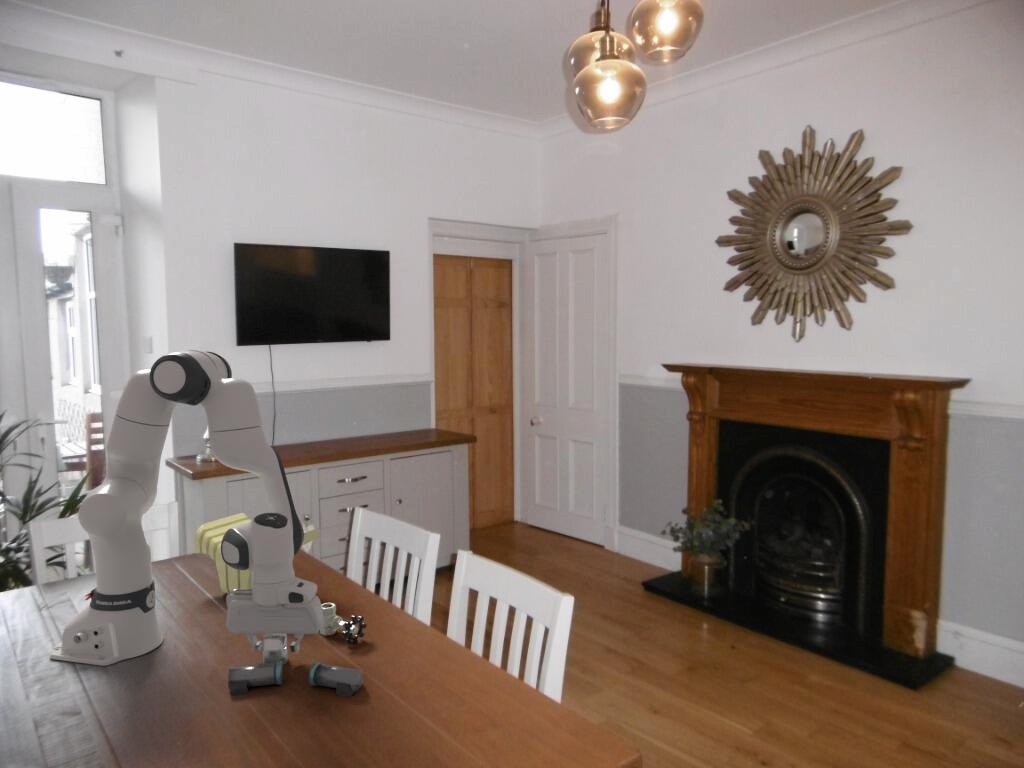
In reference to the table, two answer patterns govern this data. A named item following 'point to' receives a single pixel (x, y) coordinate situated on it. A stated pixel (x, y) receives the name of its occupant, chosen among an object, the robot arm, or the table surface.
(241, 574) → the slatted curved stool
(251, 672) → the grey pipe fitting
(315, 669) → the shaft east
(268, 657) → the coupler
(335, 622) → the valve
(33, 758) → the table surface
